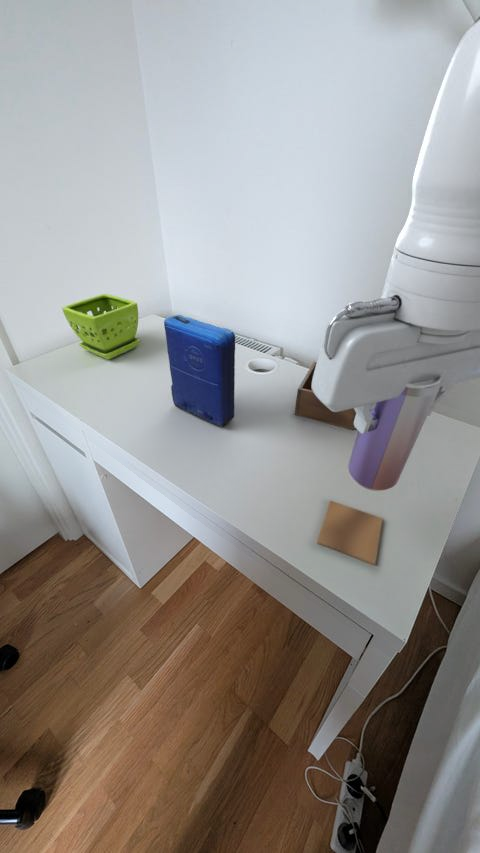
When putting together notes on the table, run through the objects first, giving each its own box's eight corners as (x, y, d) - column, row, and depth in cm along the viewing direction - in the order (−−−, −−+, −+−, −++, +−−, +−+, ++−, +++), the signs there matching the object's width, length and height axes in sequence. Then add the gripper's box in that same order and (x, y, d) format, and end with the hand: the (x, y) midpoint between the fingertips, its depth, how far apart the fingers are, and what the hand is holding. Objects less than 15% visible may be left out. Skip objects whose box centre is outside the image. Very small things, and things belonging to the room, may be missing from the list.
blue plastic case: (170, 407, 74) (155, 318, 61) (186, 396, 77) (176, 309, 64) (222, 432, 67) (218, 338, 54) (237, 419, 71) (237, 327, 58)
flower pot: (147, 346, 96) (138, 302, 88) (106, 366, 87) (93, 319, 79) (115, 334, 102) (104, 291, 94) (74, 351, 93) (58, 306, 85)
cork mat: (381, 520, 51) (382, 518, 51) (374, 565, 46) (375, 563, 46) (329, 502, 54) (330, 500, 54) (317, 543, 48) (317, 541, 48)
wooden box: (363, 398, 77) (370, 373, 72) (353, 430, 68) (360, 404, 64) (310, 385, 81) (313, 361, 76) (294, 414, 72) (297, 388, 68)
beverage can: (343, 485, 41) (375, 378, 31) (350, 453, 45) (380, 350, 36) (395, 499, 39) (446, 391, 30) (397, 465, 43) (442, 361, 34)
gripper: (357, 321, 23) (323, 465, 32) (563, 288, 28) (485, 418, 37) (310, 292, 27) (292, 424, 36) (495, 268, 33) (441, 388, 42)
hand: (391, 421), depth 37 cm, fingers closed on beverage can, 6 cm apart
